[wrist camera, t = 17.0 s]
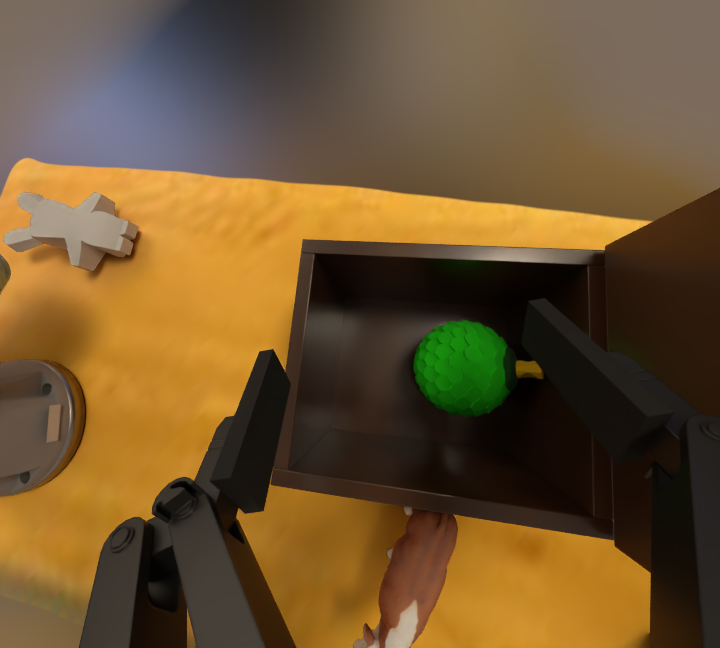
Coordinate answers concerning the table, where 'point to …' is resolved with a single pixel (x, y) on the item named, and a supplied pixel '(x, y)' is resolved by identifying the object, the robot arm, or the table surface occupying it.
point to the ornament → (468, 368)
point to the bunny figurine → (74, 229)
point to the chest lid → (664, 335)
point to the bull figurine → (412, 579)
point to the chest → (408, 404)
